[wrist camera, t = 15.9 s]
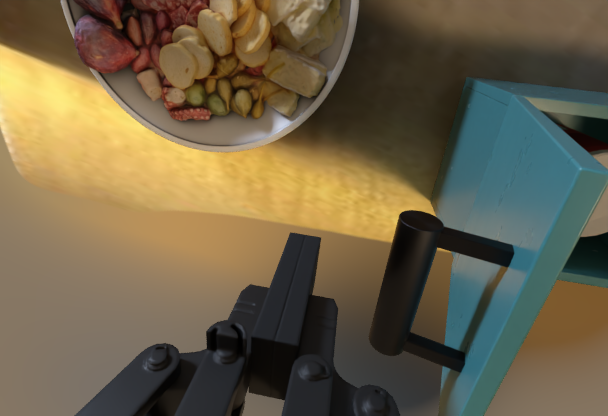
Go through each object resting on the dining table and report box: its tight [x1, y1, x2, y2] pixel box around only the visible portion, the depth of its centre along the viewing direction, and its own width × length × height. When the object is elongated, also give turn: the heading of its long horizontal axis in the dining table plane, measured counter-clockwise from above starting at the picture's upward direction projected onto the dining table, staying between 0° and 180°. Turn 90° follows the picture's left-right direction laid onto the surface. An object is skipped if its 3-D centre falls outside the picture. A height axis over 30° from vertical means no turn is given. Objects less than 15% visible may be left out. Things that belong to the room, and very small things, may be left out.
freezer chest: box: [430, 77, 608, 288], centre depth 33 cm, size 17×15×14 cm
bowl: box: [61, 0, 359, 152], centre depth 34 cm, size 30×30×8 cm
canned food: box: [556, 124, 608, 237], centre depth 33 cm, size 8×8×11 cm
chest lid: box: [369, 95, 608, 416], centre depth 21 cm, size 18×15×5 cm
